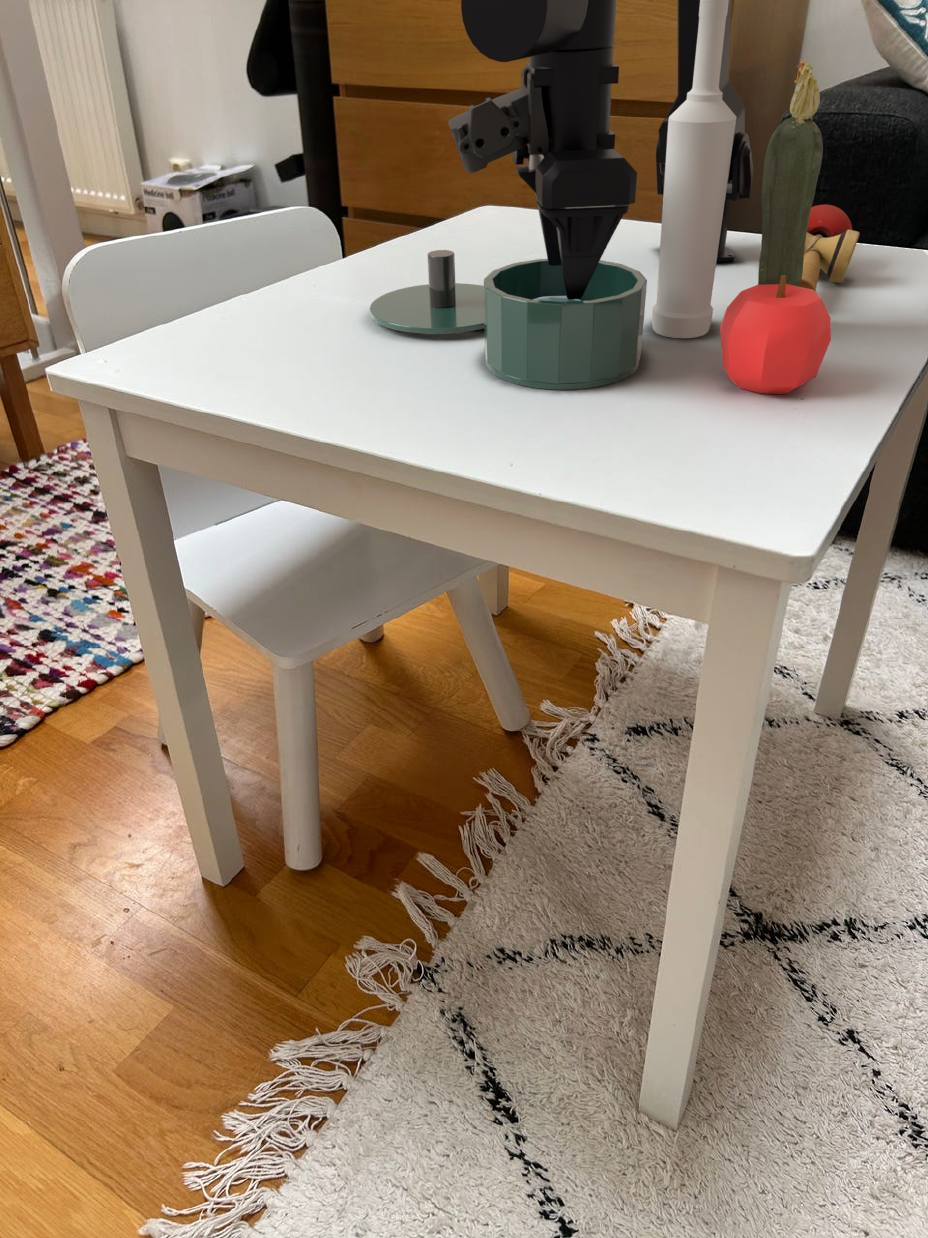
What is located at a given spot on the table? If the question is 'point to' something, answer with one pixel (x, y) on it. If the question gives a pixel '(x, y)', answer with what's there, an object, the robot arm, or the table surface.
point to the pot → (563, 326)
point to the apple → (774, 337)
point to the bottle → (695, 189)
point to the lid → (433, 302)
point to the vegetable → (790, 185)
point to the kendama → (827, 245)
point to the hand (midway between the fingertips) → (564, 280)
